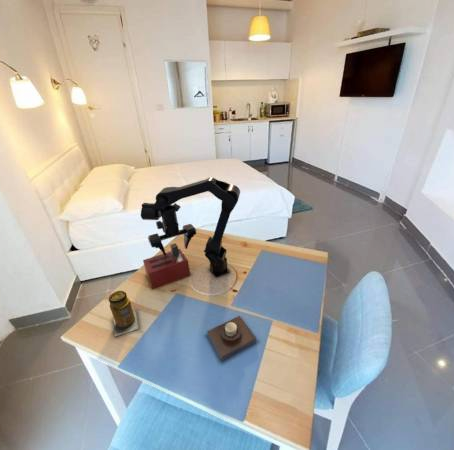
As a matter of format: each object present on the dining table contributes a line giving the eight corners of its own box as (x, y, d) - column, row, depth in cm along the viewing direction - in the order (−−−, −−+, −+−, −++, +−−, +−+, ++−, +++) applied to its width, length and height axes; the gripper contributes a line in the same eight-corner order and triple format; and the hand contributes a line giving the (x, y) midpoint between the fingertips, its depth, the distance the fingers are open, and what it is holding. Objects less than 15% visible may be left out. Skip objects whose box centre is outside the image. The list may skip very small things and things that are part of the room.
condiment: (135, 310, 90) (127, 285, 84) (138, 328, 83) (130, 302, 77) (113, 318, 87) (103, 293, 81) (114, 337, 80) (104, 311, 75)
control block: (239, 320, 85) (239, 311, 83) (256, 342, 78) (256, 333, 76) (207, 335, 80) (206, 327, 78) (221, 361, 73) (221, 353, 71)
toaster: (182, 262, 114) (179, 248, 110) (190, 275, 106) (188, 259, 102) (146, 275, 107) (142, 259, 103) (152, 289, 99) (148, 273, 96)
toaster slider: (176, 250, 108) (175, 243, 106) (179, 254, 106) (177, 246, 104) (171, 252, 107) (170, 244, 105) (173, 255, 105) (172, 248, 103)
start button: (233, 324, 79) (233, 320, 78) (239, 333, 77) (238, 328, 76) (223, 329, 78) (222, 325, 77) (228, 338, 75) (228, 334, 74)
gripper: (185, 206, 109) (189, 237, 117) (141, 218, 101) (149, 249, 109) (194, 216, 100) (198, 248, 108) (147, 229, 93) (155, 263, 100)
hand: (175, 251), depth 107 cm, fingers open, 9 cm apart
